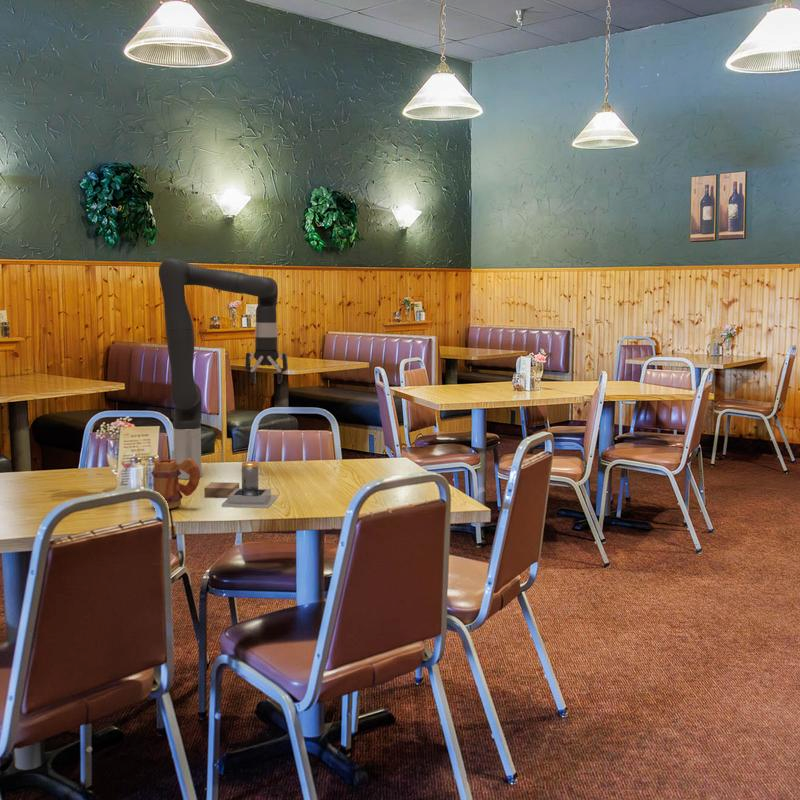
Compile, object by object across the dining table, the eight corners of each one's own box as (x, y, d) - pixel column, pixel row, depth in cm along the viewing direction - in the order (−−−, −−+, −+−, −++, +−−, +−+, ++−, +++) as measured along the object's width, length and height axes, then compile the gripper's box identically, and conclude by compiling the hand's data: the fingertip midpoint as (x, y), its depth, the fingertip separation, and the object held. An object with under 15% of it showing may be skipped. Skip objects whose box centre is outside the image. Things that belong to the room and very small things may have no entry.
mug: (146, 510, 263) (145, 459, 261) (157, 504, 271) (156, 455, 269) (194, 512, 261) (193, 461, 259) (204, 506, 269) (203, 456, 267)
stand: (204, 497, 281) (204, 487, 281) (211, 491, 290) (211, 482, 290) (233, 497, 280) (232, 488, 280) (239, 491, 289) (239, 482, 289)
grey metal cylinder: (240, 501, 272) (240, 464, 271) (243, 497, 277) (243, 461, 276) (257, 501, 272) (257, 465, 271) (259, 497, 277) (259, 461, 276)
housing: (221, 506, 268) (221, 496, 268) (232, 496, 282) (232, 487, 282) (268, 507, 267) (268, 497, 267) (276, 497, 281) (276, 488, 281)
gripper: (243, 336, 304) (243, 384, 306) (285, 336, 303) (285, 384, 305) (248, 335, 311) (248, 382, 313) (288, 335, 311) (289, 382, 312)
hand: (266, 383), depth 309 cm, fingers open, 8 cm apart
